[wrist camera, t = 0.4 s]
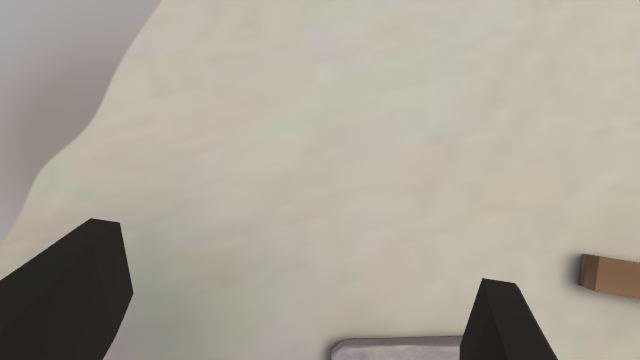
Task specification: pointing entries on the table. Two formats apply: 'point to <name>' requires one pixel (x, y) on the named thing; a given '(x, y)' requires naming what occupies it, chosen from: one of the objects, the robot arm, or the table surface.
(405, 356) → the stone block
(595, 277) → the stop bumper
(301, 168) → the table surface
